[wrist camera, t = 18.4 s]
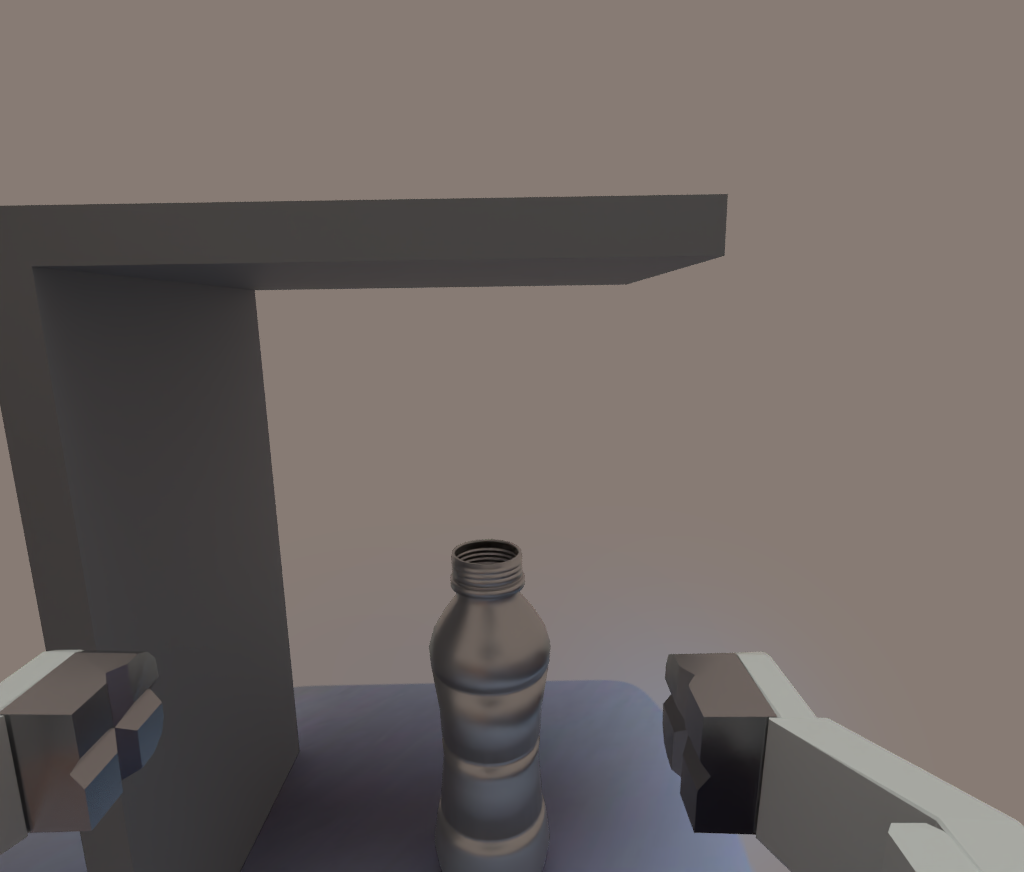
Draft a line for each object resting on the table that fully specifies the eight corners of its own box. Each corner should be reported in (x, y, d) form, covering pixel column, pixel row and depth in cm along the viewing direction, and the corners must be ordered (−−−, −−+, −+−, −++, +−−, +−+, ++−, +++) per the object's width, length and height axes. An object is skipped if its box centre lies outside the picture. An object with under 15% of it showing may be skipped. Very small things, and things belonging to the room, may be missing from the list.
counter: (117, 1032, 27) (-37, 206, 20) (273, 751, 45) (220, 258, 38) (682, 1027, 27) (727, 194, 20) (615, 747, 45) (627, 251, 38)
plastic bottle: (460, 813, 39) (449, 525, 35) (561, 838, 37) (561, 535, 33) (417, 905, 33) (399, 569, 29) (535, 940, 31) (532, 585, 27)
